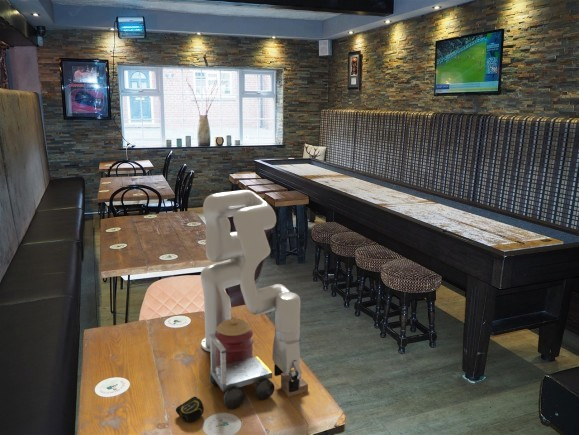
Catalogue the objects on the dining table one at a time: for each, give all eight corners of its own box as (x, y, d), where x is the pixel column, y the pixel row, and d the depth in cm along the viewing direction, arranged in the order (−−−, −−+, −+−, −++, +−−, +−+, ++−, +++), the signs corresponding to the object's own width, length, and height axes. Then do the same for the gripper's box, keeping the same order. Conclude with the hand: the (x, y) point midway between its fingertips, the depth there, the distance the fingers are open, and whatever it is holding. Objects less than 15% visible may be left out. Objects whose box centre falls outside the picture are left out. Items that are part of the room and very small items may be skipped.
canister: (222, 353, 173) (221, 308, 169) (257, 357, 171) (257, 311, 167) (210, 372, 160) (208, 324, 156) (247, 377, 158) (247, 328, 154)
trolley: (208, 386, 152) (207, 331, 148) (255, 373, 160) (255, 320, 155) (224, 411, 140) (223, 352, 136) (274, 396, 148) (274, 339, 143)
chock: (280, 388, 152) (281, 373, 151) (300, 383, 155) (300, 367, 154) (288, 397, 148) (288, 381, 147) (307, 391, 151) (308, 375, 150)
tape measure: (198, 402, 142) (195, 392, 141) (209, 414, 137) (206, 405, 136) (177, 415, 139) (174, 406, 137) (187, 428, 134) (184, 418, 132)
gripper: (264, 323, 152) (263, 371, 156) (289, 348, 137) (288, 401, 141) (285, 318, 155) (284, 366, 159) (312, 342, 140) (310, 394, 144)
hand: (286, 382), depth 150 cm, fingers open, 9 cm apart
